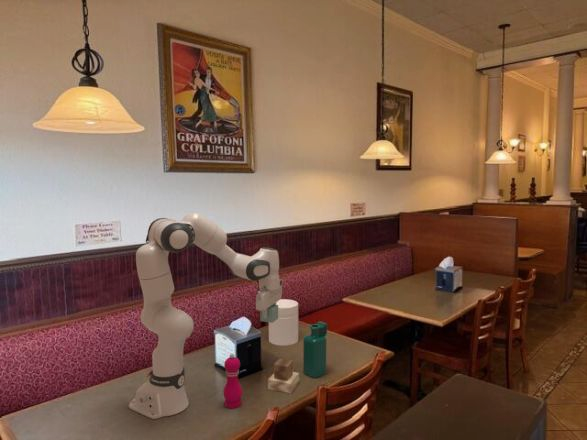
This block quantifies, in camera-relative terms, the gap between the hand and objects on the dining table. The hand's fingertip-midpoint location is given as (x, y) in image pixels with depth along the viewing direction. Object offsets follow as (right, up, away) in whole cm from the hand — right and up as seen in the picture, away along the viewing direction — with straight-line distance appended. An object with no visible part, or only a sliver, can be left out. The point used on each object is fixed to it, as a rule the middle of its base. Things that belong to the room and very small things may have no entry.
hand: (269, 314), depth 182 cm
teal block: (0, -2, 0) cm, 2 cm away
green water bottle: (+21, -27, +3) cm, 34 cm away
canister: (+5, -23, +41) cm, 47 cm away
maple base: (+7, -28, -8) cm, 30 cm away
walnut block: (+6, -24, -9) cm, 26 cm away
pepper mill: (-13, -29, -22) cm, 39 cm away
